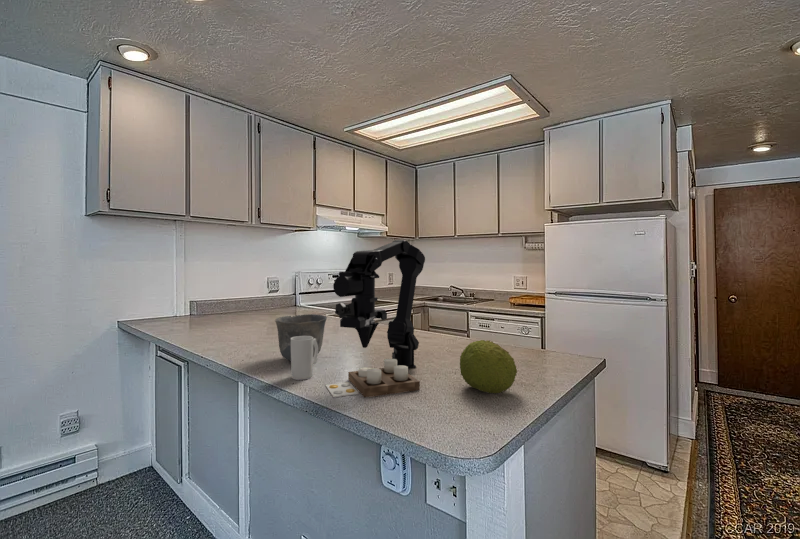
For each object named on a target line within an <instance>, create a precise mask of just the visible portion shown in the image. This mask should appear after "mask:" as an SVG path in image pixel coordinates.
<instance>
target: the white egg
mask: <svg viewBox="0 0 800 539" xmlns="http://www.w3.org/2000/svg"><path fill="white" fill-rule="evenodd" d="M368 369H371V368H370V367H361V368H359V369H357V371H358V377H359V378H360V377H367V370H368Z"/></svg>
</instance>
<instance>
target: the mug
mask: <svg viewBox="0 0 800 539" xmlns="http://www.w3.org/2000/svg"><path fill="white" fill-rule="evenodd" d="M313 345H314V347H315V354H314V357H313ZM318 356H319V353H318V345H317V342H316V339H315V338H314V339H313V337H312V336H296V337H292V338H291V361H290V367H291V368H290V369H291V378H292V379H293V380H294V381H295V380H296V381H297V380H298V381H303V380H305V381H306V380H308V379H312V378H313V376H314V365H315V364H316V363H317V360H318ZM316 365H317V364H316Z"/></svg>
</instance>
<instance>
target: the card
mask: <svg viewBox="0 0 800 539" xmlns="http://www.w3.org/2000/svg"><path fill="white" fill-rule="evenodd" d="M325 387H326V389H327V390H328V392H329V393H330V395H331V397H332V398H334V399H335V398H340V397H341V398H342V396H343V397H348V396H355V395H356V396H357V395H360V392H359V391H358V390H357V389H356V388H355V387H354V386H353V384H352V383H351V382H350V381H348V382H339V383H331V384H330V383H329V384H325Z"/></svg>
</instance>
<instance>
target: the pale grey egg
mask: <svg viewBox="0 0 800 539" xmlns="http://www.w3.org/2000/svg"><path fill="white" fill-rule="evenodd" d="M394 366H397V359H392V358H386V359H384V360H383V368H384V372H387V373H394Z"/></svg>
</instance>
